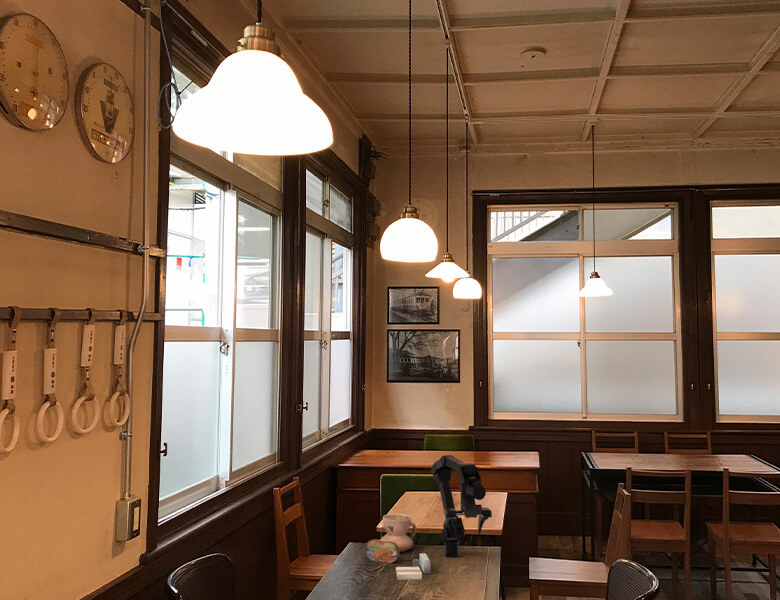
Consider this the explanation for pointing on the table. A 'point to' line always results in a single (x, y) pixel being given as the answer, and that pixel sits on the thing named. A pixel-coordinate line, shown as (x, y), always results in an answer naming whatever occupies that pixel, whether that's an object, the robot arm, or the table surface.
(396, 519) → the ceramic jug
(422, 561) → the stool leg
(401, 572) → the stool seat
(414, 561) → the leg stop
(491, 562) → the table surface
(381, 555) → the tin
